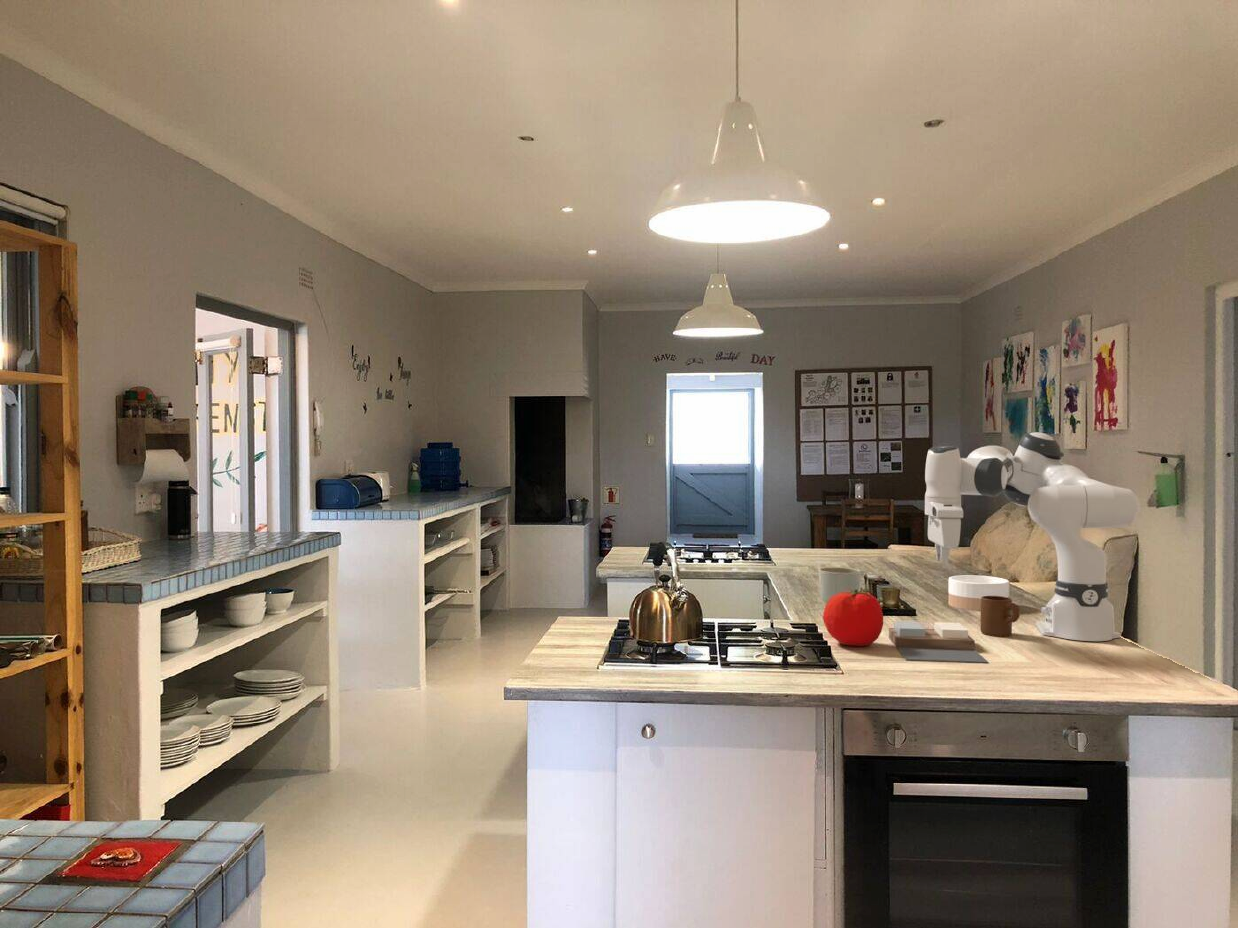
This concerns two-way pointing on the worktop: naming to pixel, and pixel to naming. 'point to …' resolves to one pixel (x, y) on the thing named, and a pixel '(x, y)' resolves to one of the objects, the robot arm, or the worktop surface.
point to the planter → (838, 581)
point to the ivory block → (950, 630)
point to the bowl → (975, 590)
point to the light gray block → (909, 629)
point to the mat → (941, 655)
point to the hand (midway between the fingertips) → (942, 561)
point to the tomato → (853, 618)
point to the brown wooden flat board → (931, 641)
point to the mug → (998, 615)
